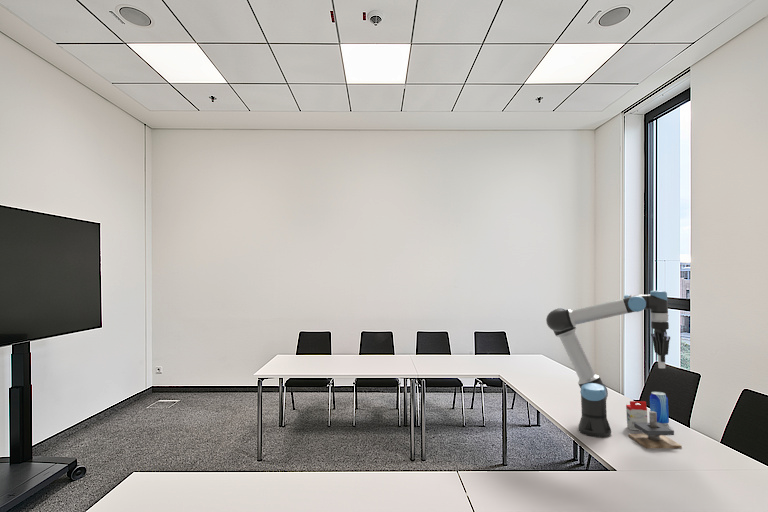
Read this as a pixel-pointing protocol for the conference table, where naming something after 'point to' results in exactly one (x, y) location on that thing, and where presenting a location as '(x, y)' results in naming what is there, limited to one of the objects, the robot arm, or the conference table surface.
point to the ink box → (636, 414)
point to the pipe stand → (654, 437)
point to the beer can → (660, 407)
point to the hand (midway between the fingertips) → (661, 368)
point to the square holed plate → (653, 429)
